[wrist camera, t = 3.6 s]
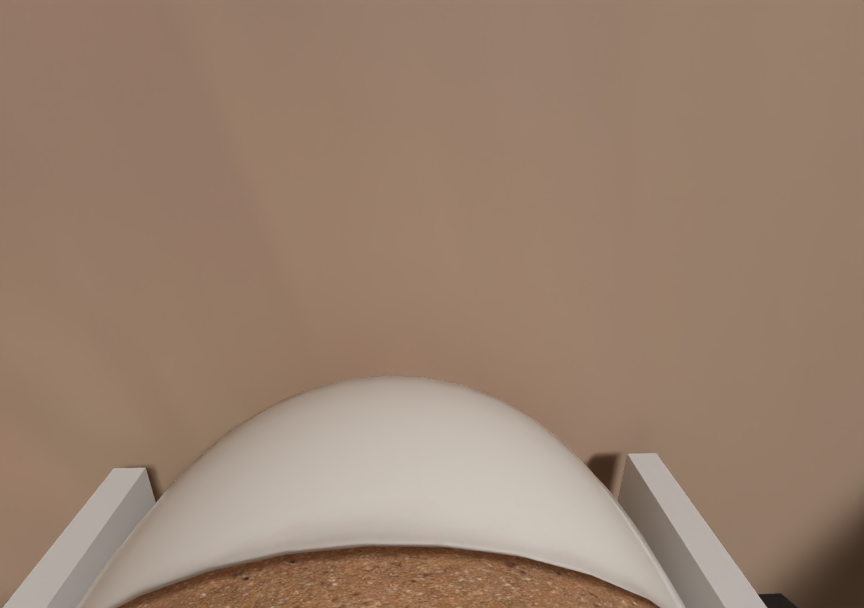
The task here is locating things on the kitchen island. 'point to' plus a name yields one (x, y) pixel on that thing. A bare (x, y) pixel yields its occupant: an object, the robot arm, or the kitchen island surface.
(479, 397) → the lidded jar
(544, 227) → the kitchen island surface
